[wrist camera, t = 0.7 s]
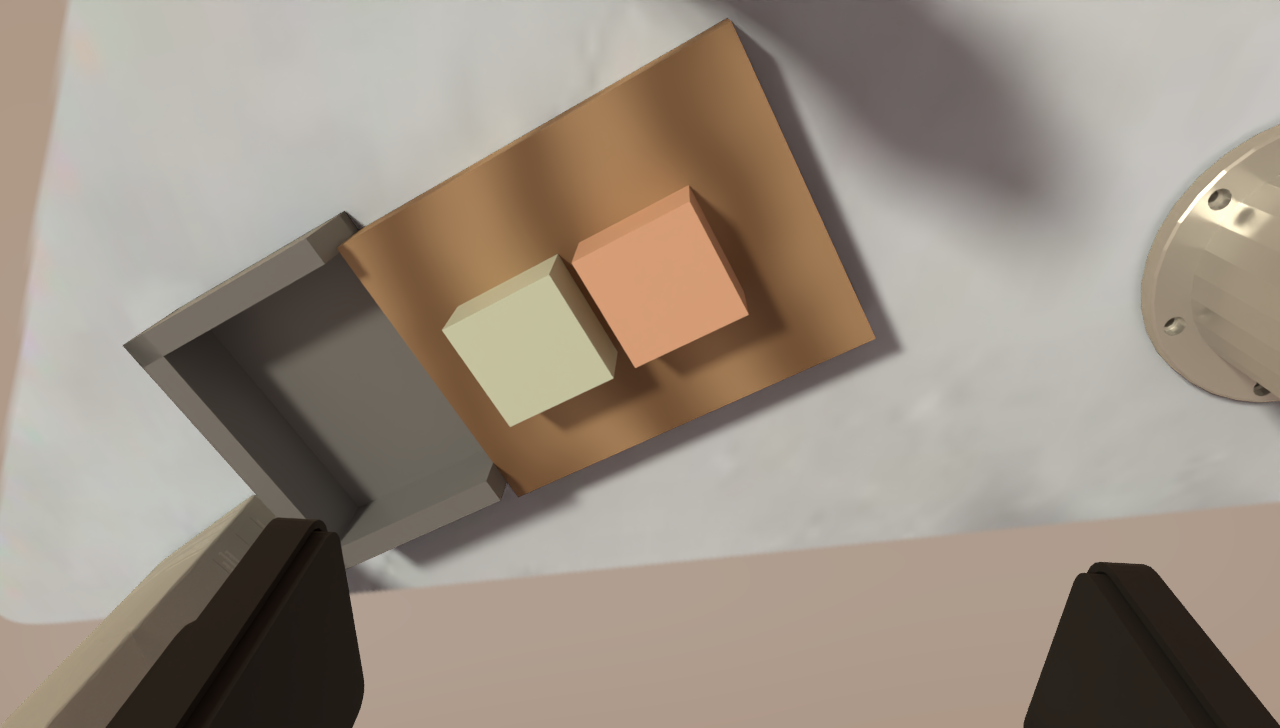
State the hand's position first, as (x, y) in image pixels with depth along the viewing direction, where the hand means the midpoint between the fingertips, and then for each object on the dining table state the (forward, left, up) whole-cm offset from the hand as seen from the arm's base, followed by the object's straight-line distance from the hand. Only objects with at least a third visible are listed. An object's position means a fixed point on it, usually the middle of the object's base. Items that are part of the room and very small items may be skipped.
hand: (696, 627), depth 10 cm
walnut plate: (+5, +2, -26) cm, 26 cm away
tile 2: (+2, +2, -23) cm, 23 cm away
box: (+19, +1, -26) cm, 32 cm away
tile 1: (+8, +2, -23) cm, 25 cm away
